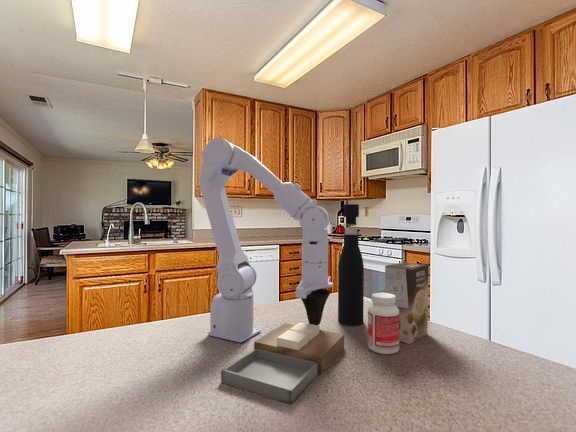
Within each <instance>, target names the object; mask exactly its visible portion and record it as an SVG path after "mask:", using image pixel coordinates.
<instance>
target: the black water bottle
mask: <svg viewBox="0 0 576 432" xmlns="http://www.w3.org/2000/svg"><path fill="white" fill-rule="evenodd" d="M343 217H344V218H346V220H345V225H346V227H345V228H344V234H343V247H342V248H341V252H340V255H339V259H338V268H337V272H338V273H337V274H338V276H337V278H338V279H337V280H338V282H337V284H338V285H337V292H338V293H337V294H338V295H337V297H338V298H337V322H338V323H339V324H341V325H344V326H349V327H351V326H352V327H353V326H354V327H355V326H356V325H357V326H361V325H363V324H364V309H365V308H364V297H365V296H364V292H365V291H364V284H365V283H364V282H365V281H364V280H365V278H364V277H365V267H364V266H365V265H364V260H363V256H362V252H361V249H360V246H359V243H360V242H359V234H358V227H357V218H359V217H360V205H359V204H358V203H357V204H356V203H350V204H349V203H348V204H347V203H346V204H343ZM355 226H356V227H355ZM357 326H356V327H357Z"/></svg>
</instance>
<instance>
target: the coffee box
mask: <svg viewBox="0 0 576 432" xmlns="http://www.w3.org/2000/svg"><path fill="white" fill-rule="evenodd" d="M384 269H385V270H384V293H389V294H393V295H395V296H396V302H395V304H394V305H395V306H396V307H397V308H398V309H399V342H401V343H405V344H407V345H411V344H413V343H414V342H416V341H418V340H419V339H421V338H423V337H425V336H426V335H428V333H429V332H428V331H429V329H428V326H429V325H428V323H429V319H428V317H429V316H428V315H429V264H422V263H413V262H398V263H393V264H388V265H385V266H384Z"/></svg>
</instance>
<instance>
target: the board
mask: <svg viewBox="0 0 576 432" xmlns="http://www.w3.org/2000/svg"><path fill="white" fill-rule="evenodd" d="M295 325H296V324H295ZM295 325H294V324H292V323H291V324H290V323H286V322H285V323H284V322H283V323H282V324H280V325H279V326H277V327H275V328H274V329H272V330H271V331H269V332H268V333H266V334H264V335H263V336H262V337H259V338H257V339H256V340H255V341H253V349H255V348H258V349H262V350H266V351H270V352H274V353H279V354H283V355H287V356H291V357H295V358H300V359H304V360H308V361H312V362H316V363H318V375H323V374H324V372H326V370H327V369H328V368H329V367H330V365H332V363H333V362H334V361H335V360H336V359H337V357H338V356H339V355H340V354H341V353H342V352H343V351H344V350H345V334H344V333H340V332H339V333H338V332H334V331H329V330H322V329H319V334H318V335H316V336H315V337H314V338H313V339H312V340H309V342H308V343H307V344H306V345H304V346H303V347H302V348H301V349H300V350H295V349H290V348H286V347H281V346H277V337H278V336H280V335H281V334H283V333H284V332H286V331H288V330H290V329H291V328H292V327H294V326H295Z"/></svg>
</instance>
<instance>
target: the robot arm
mask: <svg viewBox="0 0 576 432" xmlns="http://www.w3.org/2000/svg"><path fill="white" fill-rule="evenodd" d="M200 155H201V160H202V163H201V169H200V174H199V180H198V183H199V187H200V192H201V195H202V198H203V202H204V206H205V210H206V213H207V217H208V221H209V224H210V227H211V228H210V229H211V232H212V235H213V239H214V241H215V247H216V249H217V253H218V256H219V257H218V261H217V264H216V272H217V280H216V287H217V290H218V292H219V293H217V294H216V295H214V296H213V298H212V301H211V303H210V317H209V318H210V319H209V321H210V323H209V324H210V330H209V332H207V335H208V336H210V337H215V338H218V339H219V338H220V339H224V340H228V341H230V342H231V341H232V342H237V343H243V342H245V341H247V340H249V339H250V338H253V336H256V335H257V334H259V333H261V331H262V330H261V328H258V327H254V291H253V286H254V285H255V284H256V282H257V272H256V270H255V267H254V266H252V264H251V263H250V261H249V257H248V256H247V255H246V254H245V252H244V251H243V249H242V246H241V245H242V244H241V241H240V238H239V235H238V232H237V229H236V225H235V221H234V218H233V214H232V210H231V206H230V203H229V200H228V196H227V192H226V188H225V187H226V186H225V185H227V183H228V181H229V180H230V179H231V178H232V177H233V176H234V175H235V174H236V173H237V172H238V171H241V172H244V173H248V174H249V175H250V176H252V177H253V178H254V179H256V180H257V181H258V182H259V183H260V184H261V185H263V186H264V187H265V188H266V189H268V190H269V191H270V192H272V194H273V198H274V199H273V200H274V203H275V204H276V205H278V206H279V207H280V208H281V209H282V210H283V211H285V212H286V213H287V214H288V215H290V217H292V218H293V219H294V220H295V221H298V223H299V226H300V227H301V229H302V240H301V280H300V283H299V285H297V287H296V288H295V298H298V299H301V301H302V303H303V305H304V309H305V312H306V316H307V320H308V324H312V325H318V326H320V324H321V321H322V318H323V313H324V308H325V305H326V303H327V300H328V298H329V296H330V294H331V290H329V289H327V288H333V287H334V282H332V276H329V240H328V236H329V232H328V229H327V228H328V226H329V224H330V216H329V213H328V211H327V210H326V209H325V207H323V206H322V205H317V203H318V200H316V199H315V198H313V199H312V198H311V197H310V196H309V195H307V194H306V193H305V192H304V191H303V190H301V189H302V186H301V185H300V184H298V183H297V182H296V183H295V184H294V183H293V182H292V181H289V182H288V181H287V182H283V181H282V180H281V179H280V178H279V177H277V176H276V175H275V174H274V173H273V172H272V171H271V170H269V168H267V166H265V165H264V164H263V163H262V162H261V161H260V160H259V159H258V158H257V157H255V156H253V154H250V153H248V152H247V151H245V150H243V149H242V148H241V147H240V146H238V145H236V144H235V145H234V144H233V143H231V142H230V141H228V139H225V138H223V137H214V138H211V139H210V140H209V141H208V143H206V145H205V147H204V148H203V149H202V151H201V153H200ZM325 288H326V289H325Z"/></svg>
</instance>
